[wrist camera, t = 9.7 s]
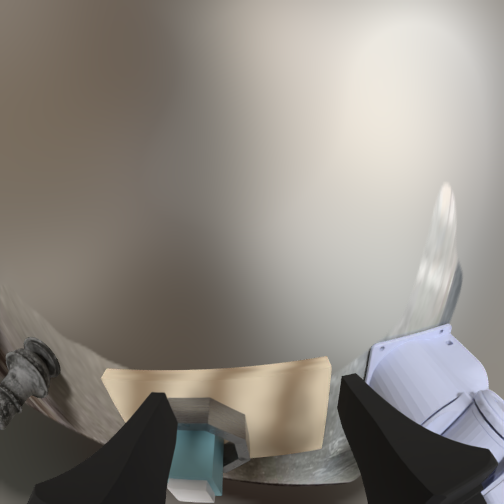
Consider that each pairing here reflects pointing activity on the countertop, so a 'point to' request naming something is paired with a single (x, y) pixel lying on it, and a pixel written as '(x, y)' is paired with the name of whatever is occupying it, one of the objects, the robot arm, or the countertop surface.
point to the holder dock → (238, 404)
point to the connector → (197, 467)
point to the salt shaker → (26, 377)
